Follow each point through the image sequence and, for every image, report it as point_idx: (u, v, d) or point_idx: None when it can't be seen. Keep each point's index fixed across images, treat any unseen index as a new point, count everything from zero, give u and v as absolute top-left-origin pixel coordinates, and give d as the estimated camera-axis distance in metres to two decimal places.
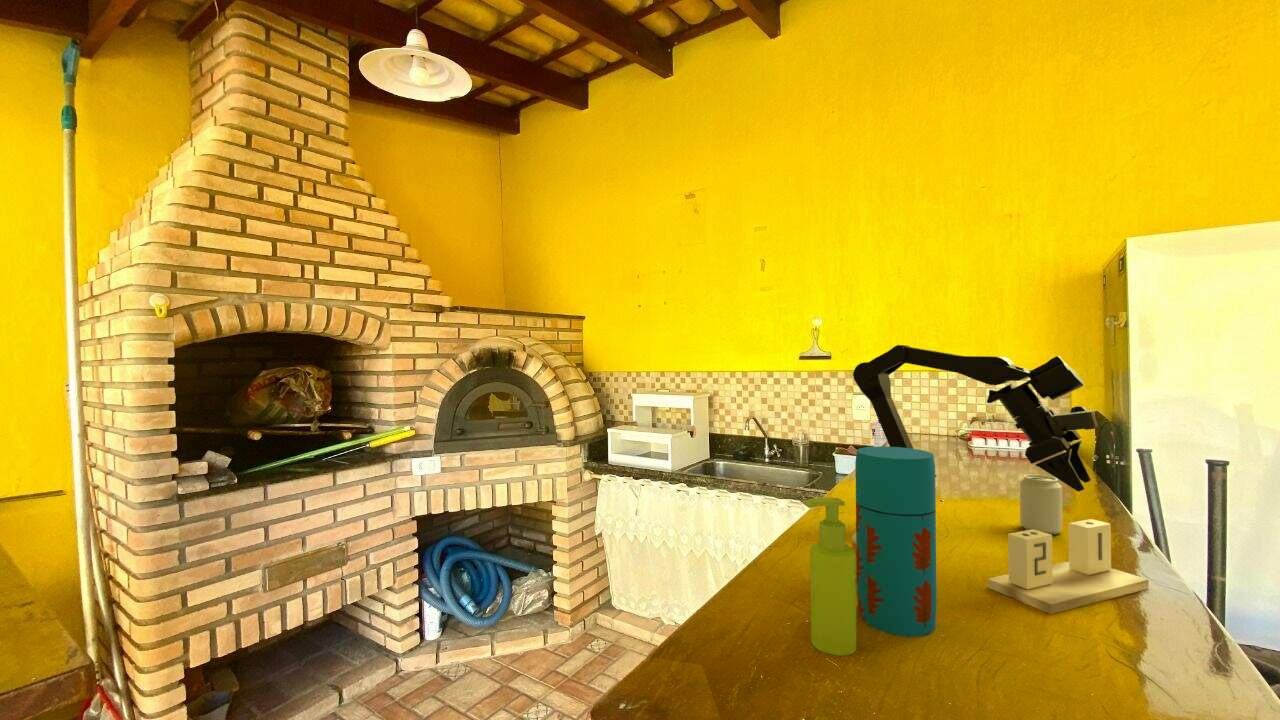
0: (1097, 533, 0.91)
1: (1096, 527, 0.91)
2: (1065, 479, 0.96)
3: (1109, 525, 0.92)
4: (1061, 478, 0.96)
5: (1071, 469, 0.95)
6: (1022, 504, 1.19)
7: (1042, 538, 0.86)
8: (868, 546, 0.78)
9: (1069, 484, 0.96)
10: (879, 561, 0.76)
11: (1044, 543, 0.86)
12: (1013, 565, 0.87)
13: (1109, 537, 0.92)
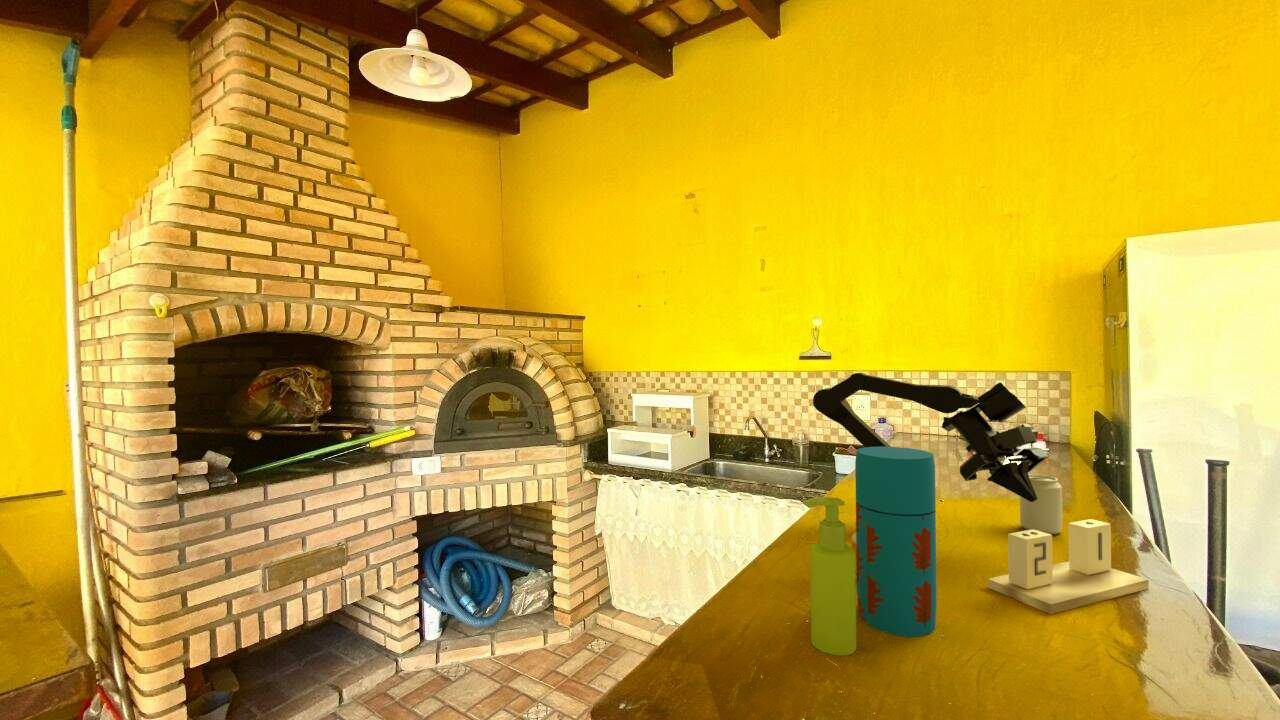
0: (1097, 533, 0.91)
1: (1096, 527, 0.91)
2: (1017, 491, 1.03)
3: (1109, 525, 0.92)
4: (1014, 490, 1.04)
5: (1018, 481, 1.03)
6: (1022, 504, 1.19)
7: (1042, 538, 0.86)
8: (868, 546, 0.78)
9: (1022, 496, 1.03)
10: (879, 561, 0.76)
11: (1044, 543, 0.86)
12: (1013, 565, 0.87)
13: (1109, 537, 0.92)
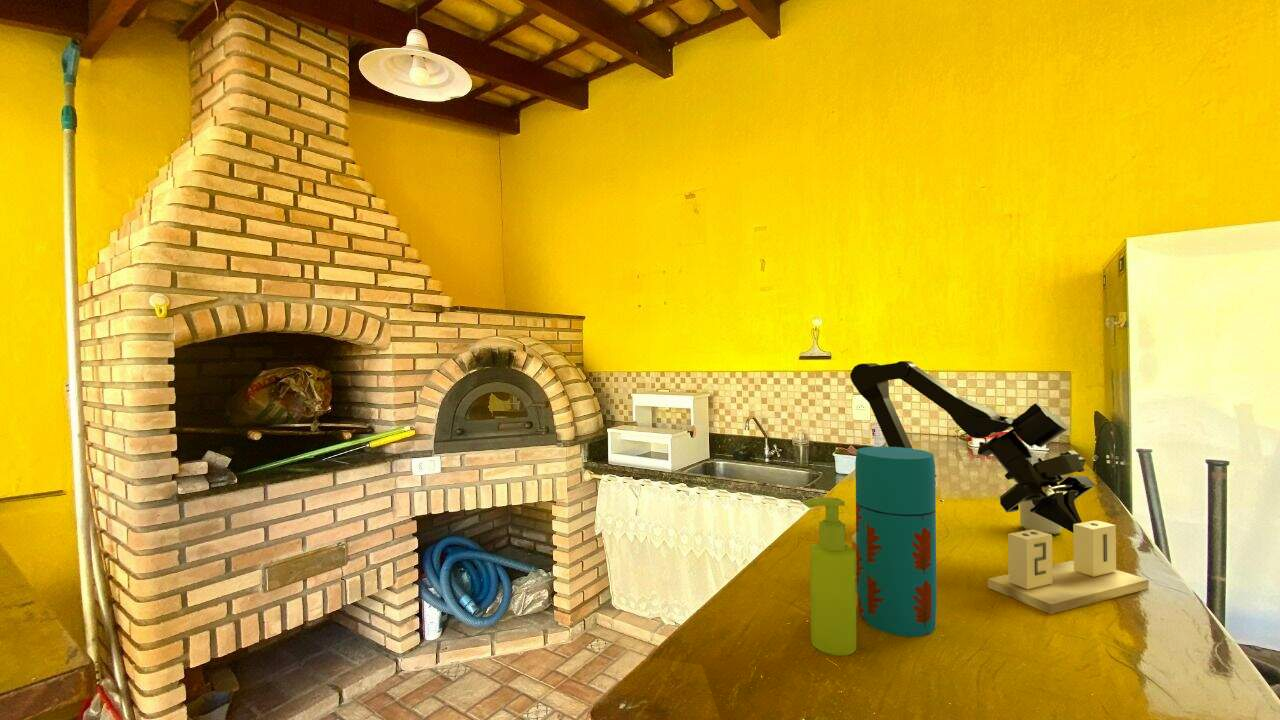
0: (1102, 534, 0.90)
1: (1101, 528, 0.90)
2: (1063, 524, 0.96)
3: (1114, 526, 0.91)
4: (1059, 523, 0.96)
5: (1065, 513, 0.95)
6: (1022, 504, 1.19)
7: (1042, 538, 0.86)
8: (868, 546, 0.78)
9: (1069, 529, 0.95)
10: (879, 561, 0.76)
11: (1044, 543, 0.86)
12: (1013, 565, 0.87)
13: (1114, 538, 0.91)
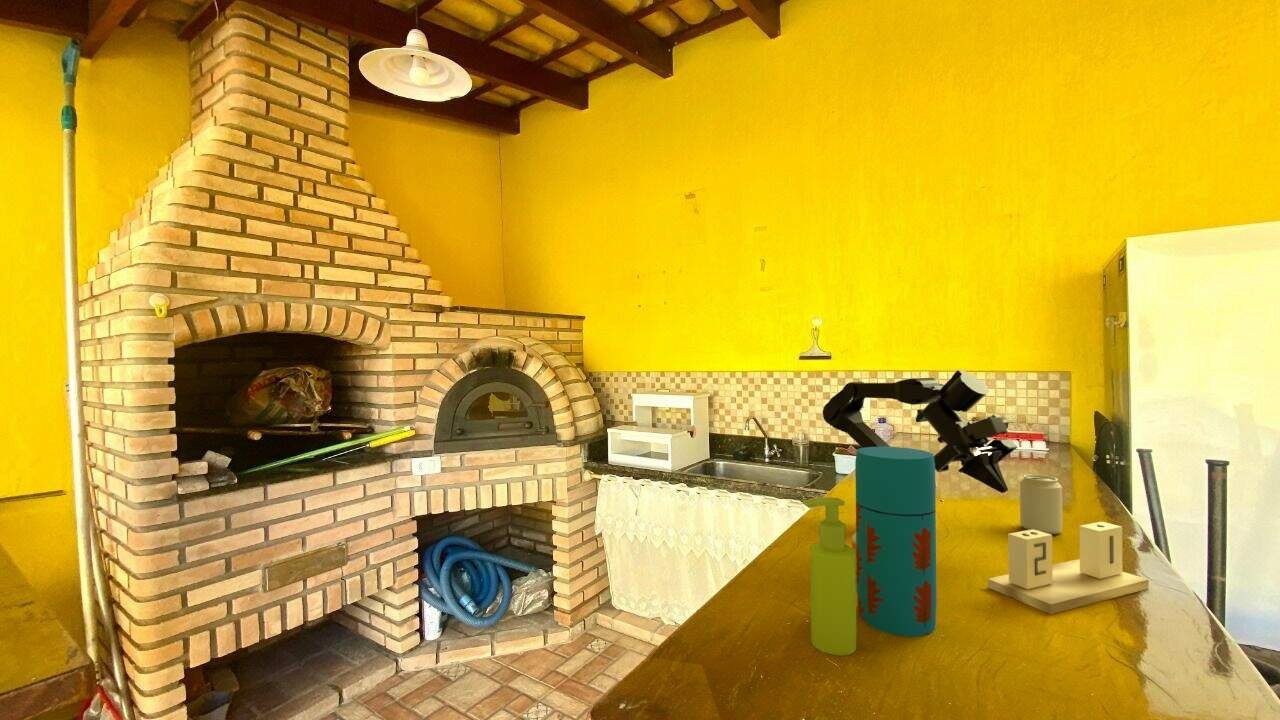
0: (1109, 536, 0.90)
1: (1107, 530, 0.89)
2: (988, 482, 1.02)
3: (1121, 528, 0.91)
4: (984, 481, 1.03)
5: (989, 472, 1.02)
6: (1022, 504, 1.19)
7: (1042, 538, 0.86)
8: (868, 546, 0.78)
9: (992, 487, 1.02)
10: (879, 561, 0.76)
11: (1044, 543, 0.86)
12: (1013, 565, 0.87)
13: (1121, 540, 0.91)
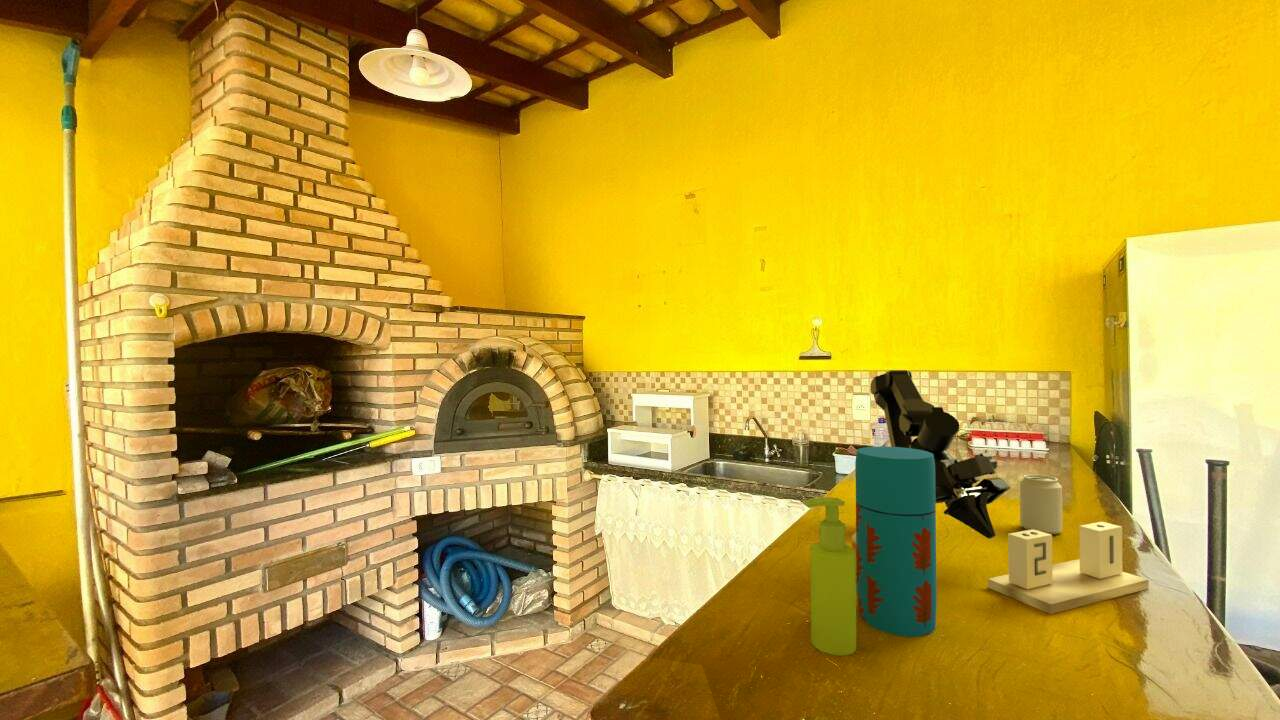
0: (1109, 536, 0.90)
1: (1107, 530, 0.89)
2: (974, 526, 0.96)
3: (1121, 528, 0.91)
4: (971, 525, 0.96)
5: (975, 515, 0.95)
6: (1022, 504, 1.19)
7: (1042, 538, 0.86)
8: (868, 546, 0.78)
9: (979, 531, 0.95)
10: (879, 561, 0.76)
11: (1044, 543, 0.86)
12: (1013, 565, 0.87)
13: (1121, 540, 0.91)
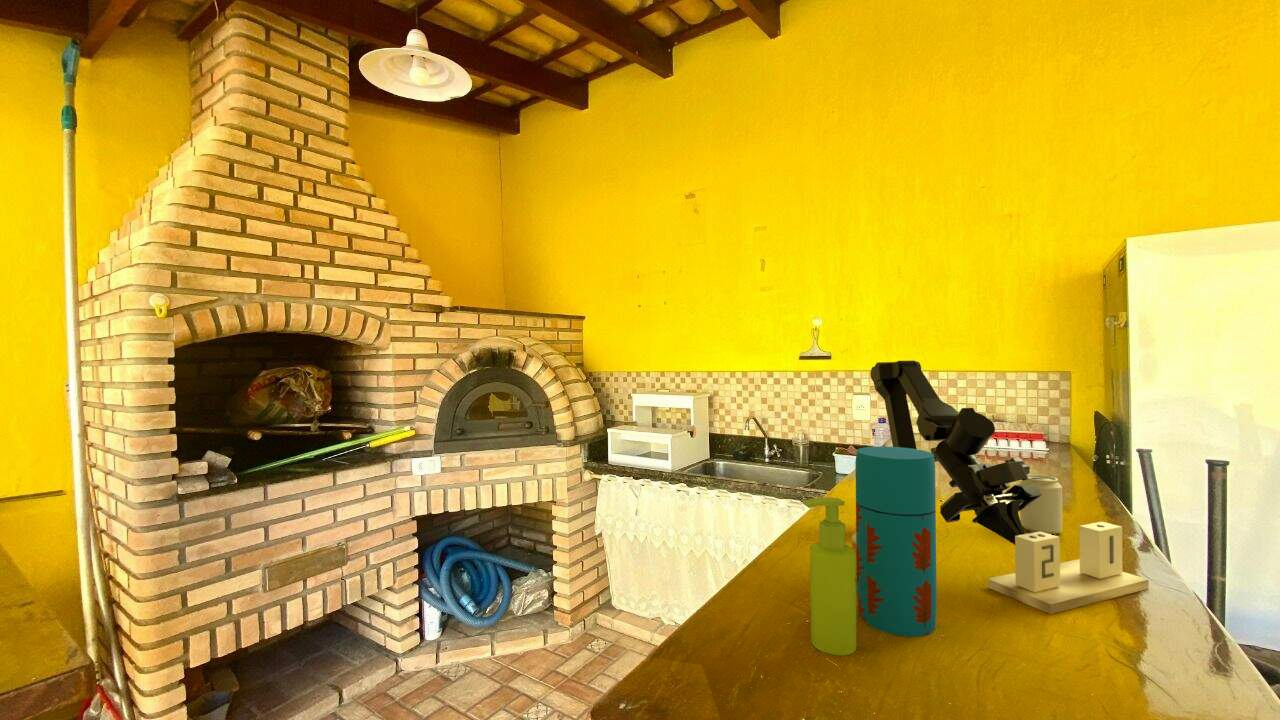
0: (1109, 536, 0.90)
1: (1107, 530, 0.89)
2: (1006, 535, 0.90)
3: (1121, 528, 0.91)
4: (1002, 535, 0.91)
5: (1007, 524, 0.89)
6: None
7: (1049, 540, 0.85)
8: (868, 546, 0.78)
9: (1011, 541, 0.89)
10: (879, 561, 0.76)
11: (1052, 546, 0.85)
12: (1020, 568, 0.86)
13: (1121, 540, 0.91)
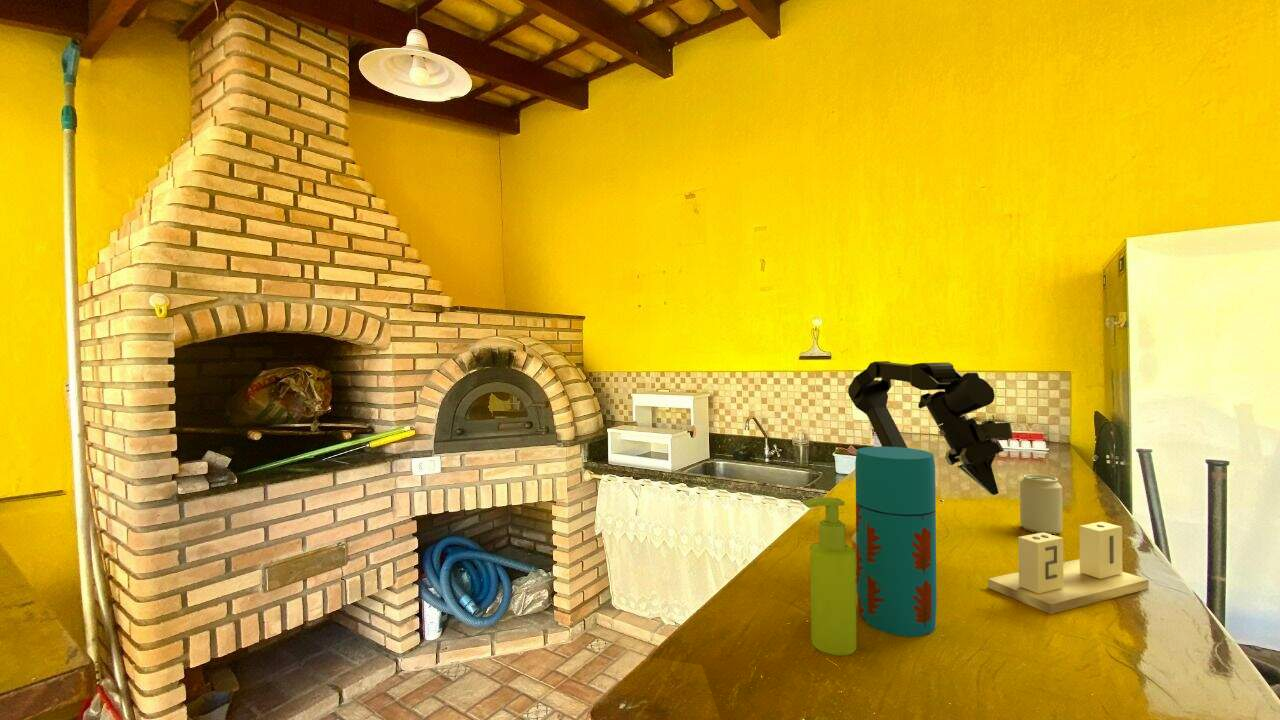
0: (1109, 536, 0.90)
1: (1107, 530, 0.89)
2: (985, 482, 1.02)
3: (1121, 528, 0.91)
4: (982, 481, 1.03)
5: (992, 473, 1.02)
6: (1022, 504, 1.19)
7: (1053, 541, 0.85)
8: (868, 546, 0.78)
9: (987, 487, 1.02)
10: (879, 561, 0.76)
11: (1055, 547, 0.85)
12: (1023, 569, 0.86)
13: (1121, 540, 0.91)
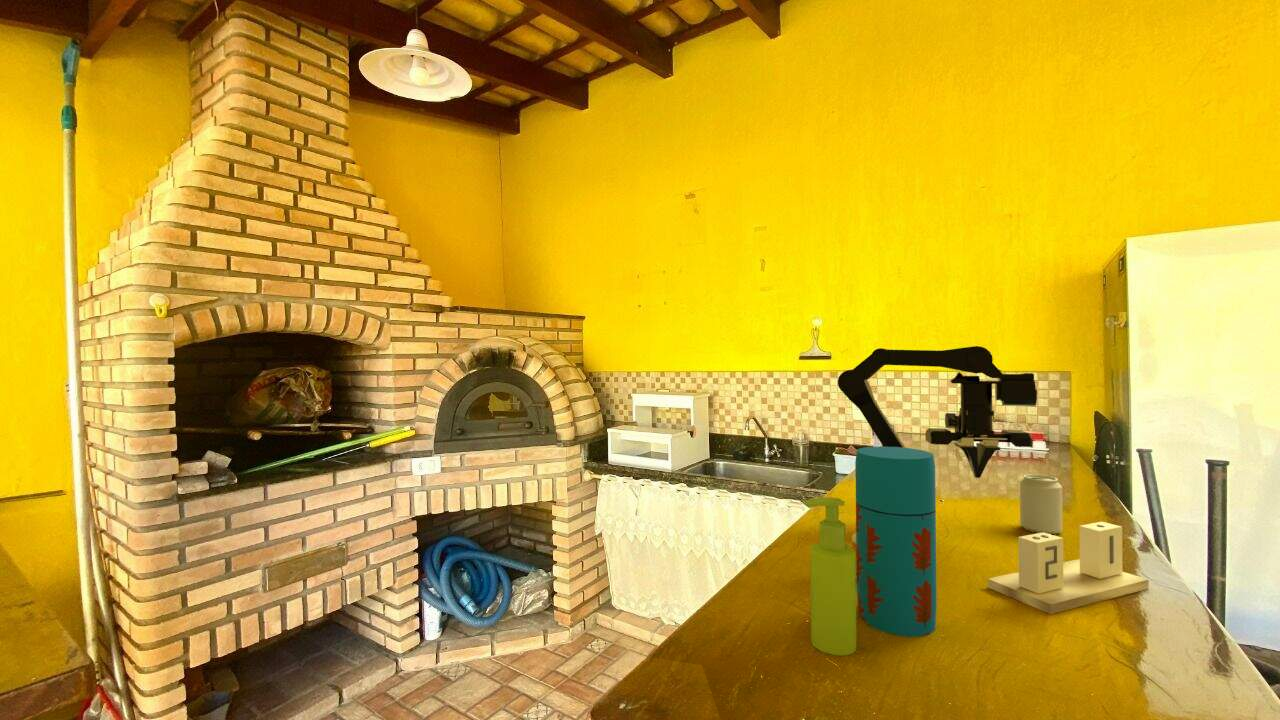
0: (1109, 536, 0.90)
1: (1107, 530, 0.89)
2: None
3: (1121, 528, 0.91)
4: (985, 464, 1.12)
5: None
6: (1022, 504, 1.19)
7: (1053, 541, 0.85)
8: (868, 546, 0.78)
9: (982, 470, 1.13)
10: (879, 561, 0.76)
11: (1055, 547, 0.85)
12: (1023, 569, 0.86)
13: (1121, 540, 0.91)
